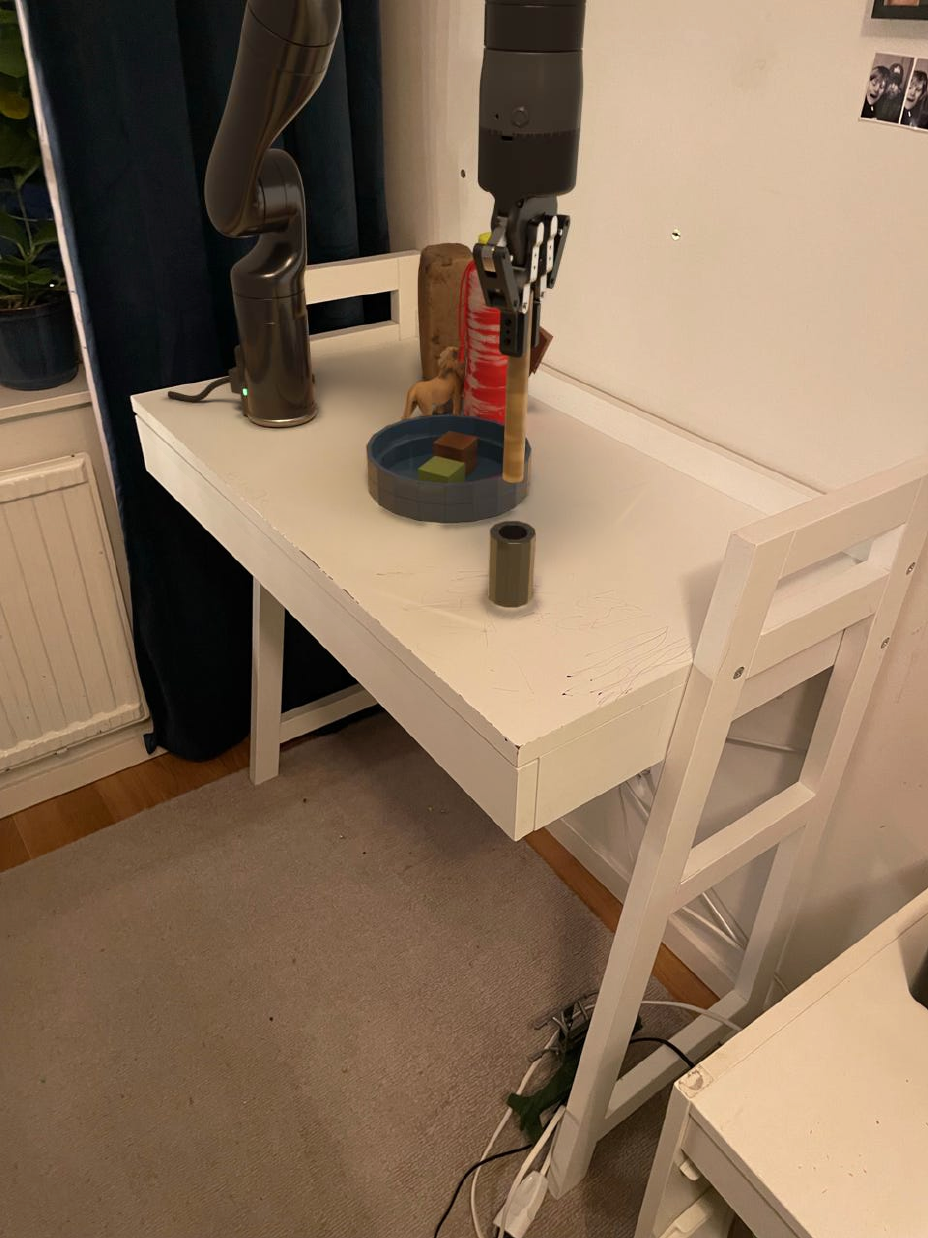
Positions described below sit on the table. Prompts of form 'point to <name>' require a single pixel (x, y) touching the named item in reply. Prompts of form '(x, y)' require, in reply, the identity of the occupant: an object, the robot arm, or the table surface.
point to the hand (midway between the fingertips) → (518, 349)
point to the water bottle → (486, 350)
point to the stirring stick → (517, 409)
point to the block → (440, 302)
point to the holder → (511, 563)
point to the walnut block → (458, 449)
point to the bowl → (402, 493)
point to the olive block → (442, 471)
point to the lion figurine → (439, 386)
